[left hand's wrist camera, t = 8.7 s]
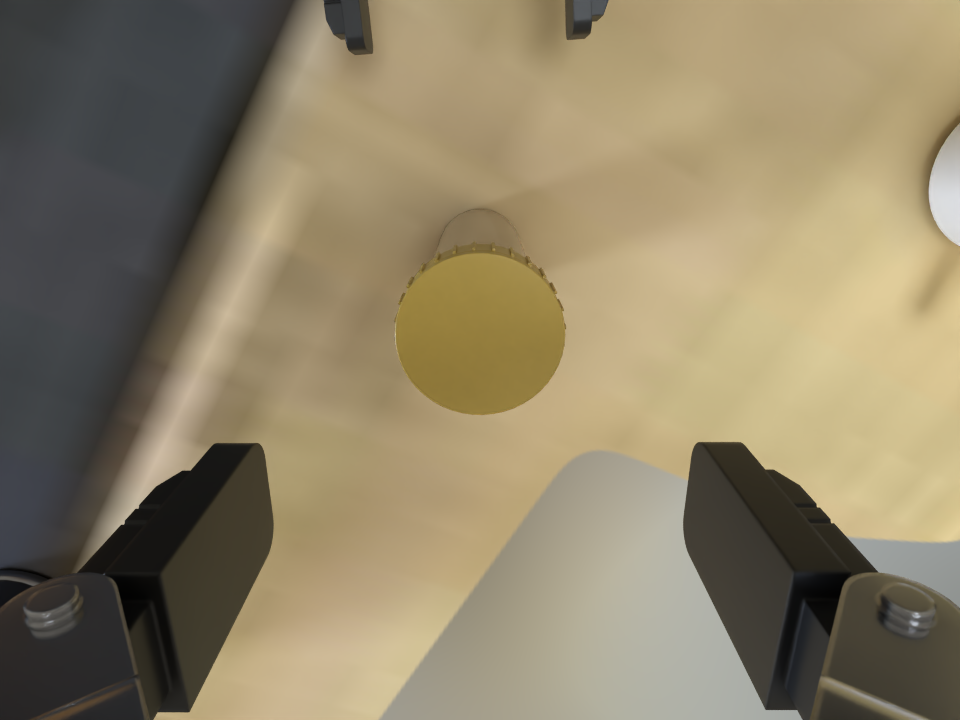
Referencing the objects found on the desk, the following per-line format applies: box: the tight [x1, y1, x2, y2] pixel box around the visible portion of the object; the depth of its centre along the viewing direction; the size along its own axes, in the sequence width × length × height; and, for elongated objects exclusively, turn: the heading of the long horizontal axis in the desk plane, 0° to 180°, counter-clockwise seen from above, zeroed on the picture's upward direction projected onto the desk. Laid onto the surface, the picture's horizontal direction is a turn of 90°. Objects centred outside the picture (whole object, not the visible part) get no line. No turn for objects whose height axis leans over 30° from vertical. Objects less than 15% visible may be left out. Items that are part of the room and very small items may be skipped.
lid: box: [394, 242, 566, 415], centre depth 20 cm, size 6×6×2 cm
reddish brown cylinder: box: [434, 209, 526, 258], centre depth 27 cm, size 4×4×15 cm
